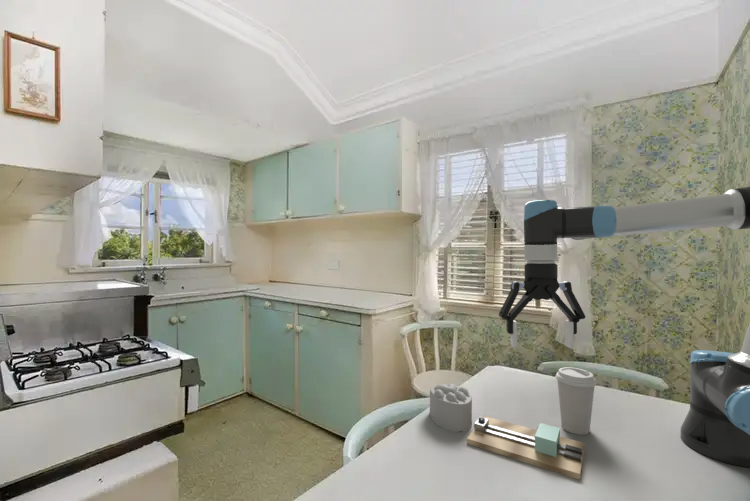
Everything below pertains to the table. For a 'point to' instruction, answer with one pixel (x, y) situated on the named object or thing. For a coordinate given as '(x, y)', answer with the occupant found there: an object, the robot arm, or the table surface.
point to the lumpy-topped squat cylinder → (451, 407)
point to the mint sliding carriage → (547, 439)
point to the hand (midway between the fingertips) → (541, 346)
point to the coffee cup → (575, 399)
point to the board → (527, 448)
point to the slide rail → (483, 424)
